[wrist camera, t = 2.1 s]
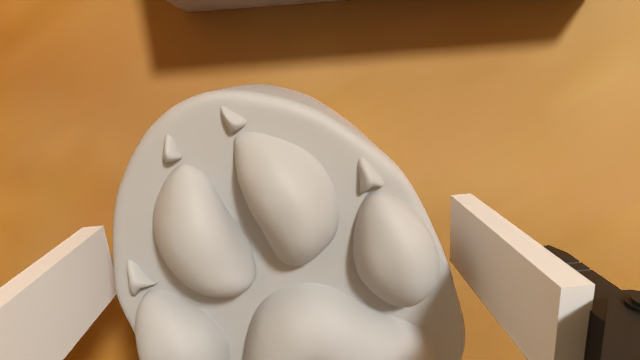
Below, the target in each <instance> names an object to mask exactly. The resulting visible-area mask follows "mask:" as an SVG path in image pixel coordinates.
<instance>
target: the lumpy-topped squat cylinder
mask: <svg viewBox="0 0 640 360" xmlns="http://www.w3.org/2000/svg"><path fill="white" fill-rule="evenodd" d="M113 264H114V278H115V287H116V293H117V296H118V300H119V303H120V305H121V307H122V309H123V311H124V314H125V316H126V318H127V320H128V321H129V323H130V325H131V327H132V329H133V331H134V333H135V335H136V345H137V351H138V356H139V360H461V359H462V355H463V350H464V344H465V328H464V319H463V314H462V311H461V307H460V303H459V300H458V296H457V293H456V290H455V286H454V283H453V278H452V274H451V271H450V268H449V265H448V262H447V259H446V257H445V254H444V252H443V249H442V246H441V244H440V242H439V239H438V237H437V235H436V233H435V231H434V228H433V226H432V224H431V222H430V219H429V217H428V215H427V213H426V211H425V209H424V207H423V205H422V203H421V201H420V199H419V197H418V195H417V193H416V192H415V190H414V188H413V187H412V185H411V183H410V182H409V180H408V179H407V177H406V176H405V174H404V173H403V172H402V171H401V169H400V168H399V167H398V166H397V165H396V164H395V163H394V162H393V161H392V160H391V159H390V158H389V157H388V156H387V155H386V154H385V153H384V152H383V151H381V150H380V149H379V148H378V147H377V146H376V145H375V144H374V143H373V142H372V141H371V140H369V139H368V138H367V137H366V136H365V135H364V134H363V133H362V132H361V131H360V130H359V129H357V128H356V127H355V126H354V125H353V124H351V123H350V122H349V121H347V120H346V119H345V118H343V117H342V116H341V115H339V114H338V113H336V112H335V111H334V110H332V109H331V108H329V107H328V106H326V105H324V104H323V103H321V102H320V101H318V100H316V99H314V98H312V97H310V96H308V95H306V94H303V93H300V92H297V91H294V90H291V89H287V88H283V87H278V86H272V85H264V84H249V85H242V86H236V87H229V88H225V89H220V90H216V91H210V92H205V93H202V94H198V95H195V96H193V97H190V98H188V99H186V100H184V101H182V102H180V103H178V104H176V105H175V106H173V107H172V108H170V109H169V110H167V111H166V112H165V113H164V114H163V115H162V116H161V117H160V118H159V119H158V120H157V121H156V122H155V123H154V124H153V125H152V126H151V127H150V128H149V129H148V130H147V132H146V133H145V134H144V136H143V137H142V139H141V141H140V142H139V144H138V146H137V148H136V149H135V151H134V153H133V155H132V157H131V159H130V161H129V163H128V166H127V168H126V170H125V173H124V176H123V178H122V181H121V183H120V186H119V189H118V193H117V197H116V202H115V209H114V218H113Z"/></svg>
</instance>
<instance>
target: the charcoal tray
mask: <svg viewBox="0 0 640 360" xmlns="http://www.w3.org/2000/svg"><path fill="white" fill-rule="evenodd" d="M165 1H167V2H169V3H170V4H172V5H174V6H176V7H178V8H179V9H181V10H183V11H185V12H196V11H209V10H223V9H236V8H250V7H263V6H277V5H290V4H304V3H317V2H331V1H344V0H165Z"/></svg>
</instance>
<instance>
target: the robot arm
mask: <svg viewBox="0 0 640 360" xmlns="http://www.w3.org/2000/svg"><path fill="white" fill-rule="evenodd" d="M450 261H451V263H452V264H453V265H454V266H455V268H456V269H457V270H458V272H459V273H460V274H461V275H462V277H463V278H464V279H465V281H466V282H467V283H468V284H469V286H470V287H471V288H472V290H473V291H474V292H475V293H476V295H477V296H478V297H479V298H480V300H481V301H482V302H483V304H484V305H485V306H486V307H487V309H488V310H489V311H490V313H491V314H492V315H493V316H494V318H495V319H496V320H497V322H498V323H499V324H500V325H501V327H502V328H503V329H504V330H505V332H506V333H507V334H508V336H509V337H510V338H511V339H512V341H513V342H514V343H515V345H516V346H517V347H518V348H519V350H520V351H521V352H522V354H523V355H524V356H525V357H526V359H527V360H640V291H636V290H620V289H619V288H618V287H616V286H615V285H613V284H612V283H610V282H609V281H607V280H606V279H605V278H603V277H602V276H600V275H599V274H597V273H596V272H594V271H593V270H590V268H589V267H587V266H586V265H584V264H583V263H579V261H578V260H577V259H575V258H574V257H573V256H571V255H570V254H568V253H567V252H565V251H562V250H559V249H557V248H554V247H552V246H549V245H547V246H542V245H540V244H539V243H538V242H536V241H535V240H534V239H532V238H531V237H529V236H528V235H527V234H525V233H524V232H523V231H521V230H520V229H519V228H517V227H516V226H514V225H513V224H512V223H510V222H509V221H508V220H506V219H505V218H503V217H502V216H501V215H499V214H498V213H497V212H495V211H494V210H493V209H491V208H490V207H488V206H487V205H486V204H484V203H483V202H482V201H480V200H479V199H477V198H476V197H475V196H473V195H472V194H460V195H451V224H450ZM116 294H117V293H116V287H115V278H114V268H113V263H112V259H111V255H110V251H109V247H108V243H107V239H106V234H105V230H104V226H94V227H83V228H81V229H80V230H78V231H77V232H76V233H74V234H73V235H72V236H70V237H69V238H68V239H66V240H65V241H63V242H62V243H61V244H59V245H58V246H57V247H55V248H54V249H52V250H51V251H50V252H48V253H47V254H46V255H44V256H43V257H42V258H40V259H39V260H37V261H36V262H35V263H33V264H32V265H31V266H29V267H28V268H26V269H25V270H24V271H22V272H21V273H20V274H18V275H17V276H16V277H14V278H13V279H11V280H10V281H9V282H7V283H6V284H5V285H3V286H2V287H0V360H63V359H64V358H65V357H66V356H67V354H68V353H69V352H70V351H71V350H72V348H73V347H74V346H75V345H76V343H77V342H78V341H79V340H80V338H81V337H82V336H83V335H84V334H85V332H86V331H87V330H88V329H89V327H90V326H91V325H92V324H93V322H94V321H95V320H96V319H97V318H98V316H99V315H100V314H101V313H102V311H103V310H104V309H105V308H106V307H107V305H108V304H109V303H110V302H111V300H112V299H113V298H114V297H115V295H116Z"/></svg>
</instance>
